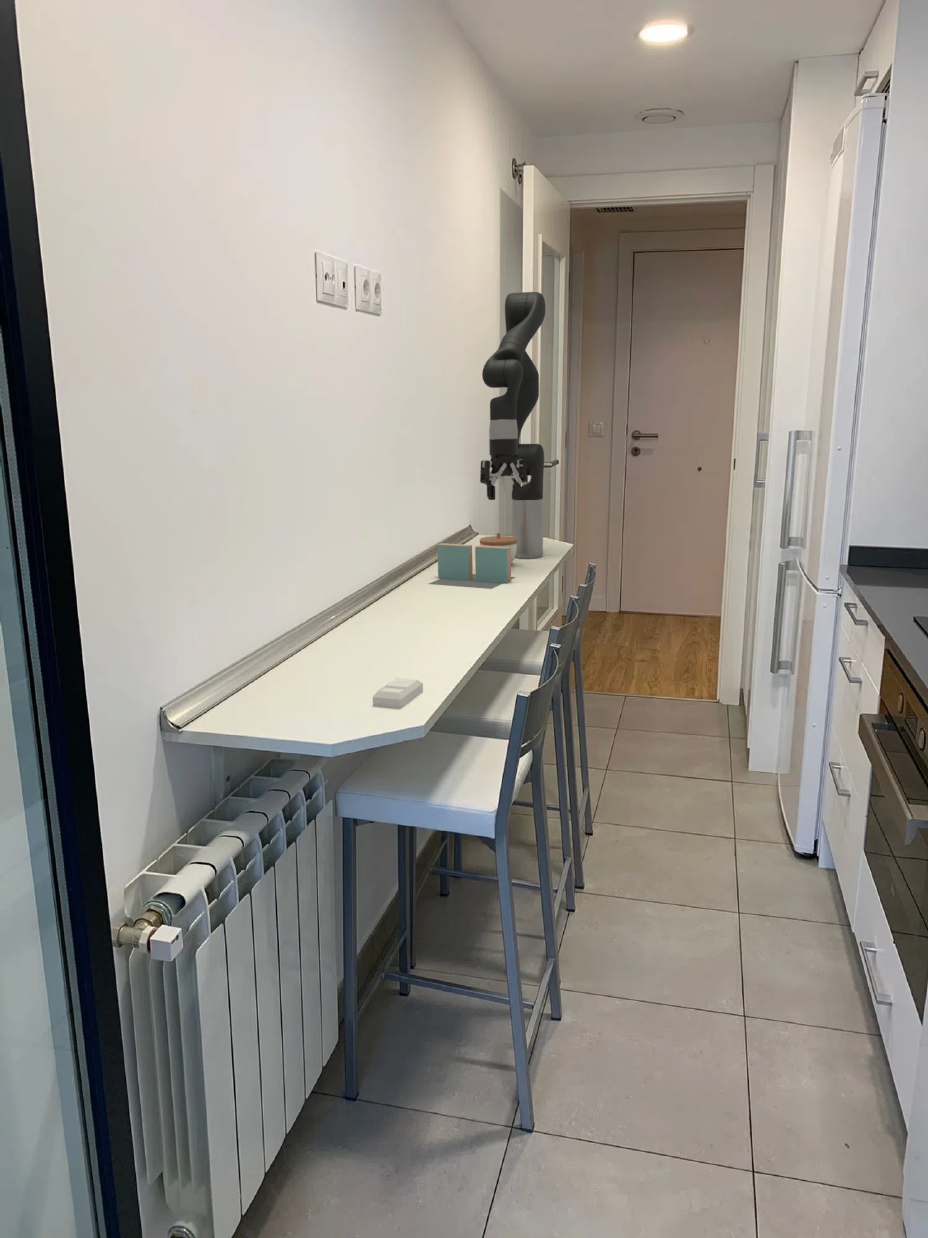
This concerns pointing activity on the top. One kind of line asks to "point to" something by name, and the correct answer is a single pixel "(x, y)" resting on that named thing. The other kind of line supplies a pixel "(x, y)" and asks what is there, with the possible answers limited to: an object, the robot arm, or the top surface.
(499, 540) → the lidded jar
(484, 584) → the mat
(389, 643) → the top surface
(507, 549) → the tile
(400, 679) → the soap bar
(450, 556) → the tile
